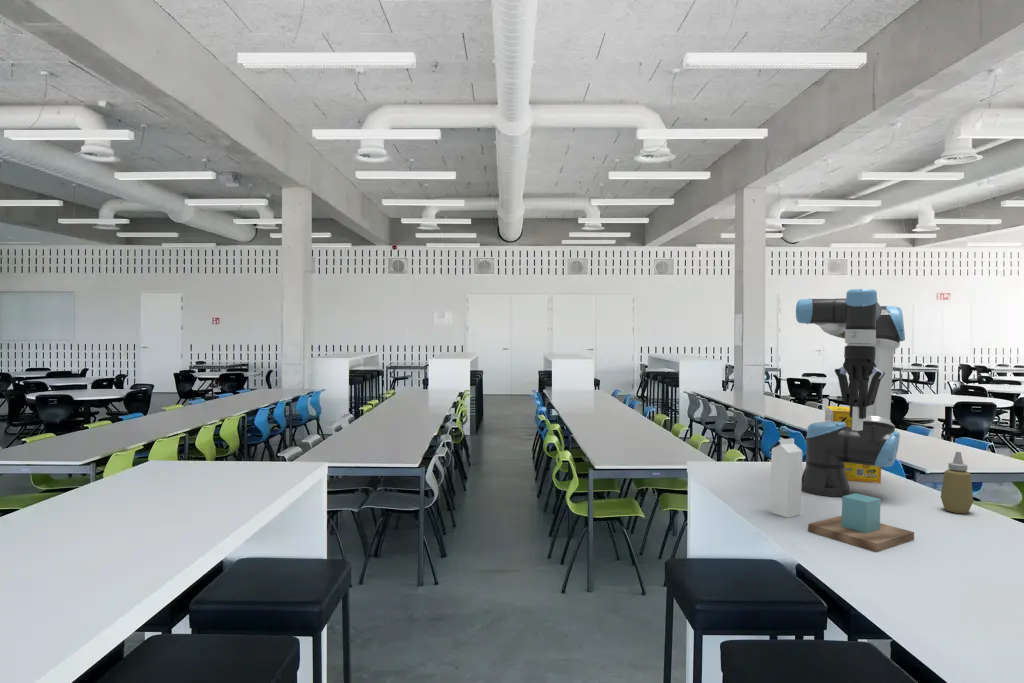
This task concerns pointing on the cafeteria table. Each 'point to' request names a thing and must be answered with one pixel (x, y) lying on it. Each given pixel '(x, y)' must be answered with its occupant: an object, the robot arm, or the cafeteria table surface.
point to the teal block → (861, 512)
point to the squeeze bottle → (957, 487)
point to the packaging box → (851, 469)
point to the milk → (786, 479)
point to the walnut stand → (861, 534)
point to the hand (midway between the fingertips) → (857, 430)
